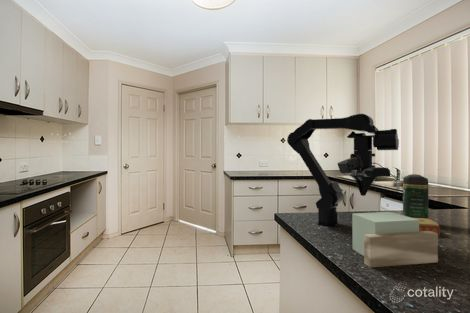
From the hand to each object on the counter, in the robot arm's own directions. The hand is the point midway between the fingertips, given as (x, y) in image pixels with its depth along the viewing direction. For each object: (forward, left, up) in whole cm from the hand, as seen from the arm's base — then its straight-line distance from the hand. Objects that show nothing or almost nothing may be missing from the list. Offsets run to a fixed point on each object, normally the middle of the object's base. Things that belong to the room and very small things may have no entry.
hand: (363, 195), depth 86 cm
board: (+8, -25, -12) cm, 29 cm away
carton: (+13, +6, -13) cm, 19 cm away
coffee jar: (+18, +19, -12) cm, 29 cm away
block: (+5, -21, -12) cm, 25 cm away
